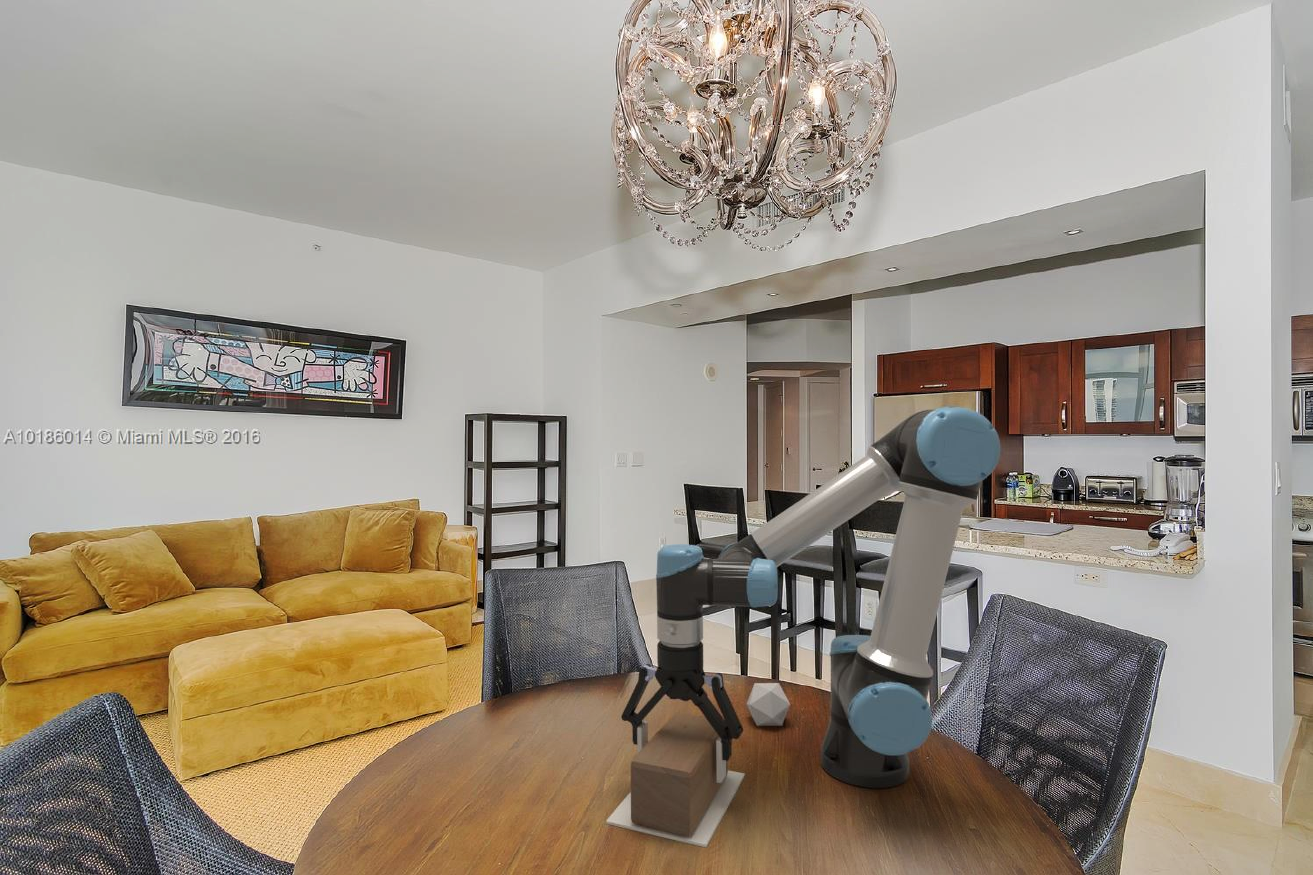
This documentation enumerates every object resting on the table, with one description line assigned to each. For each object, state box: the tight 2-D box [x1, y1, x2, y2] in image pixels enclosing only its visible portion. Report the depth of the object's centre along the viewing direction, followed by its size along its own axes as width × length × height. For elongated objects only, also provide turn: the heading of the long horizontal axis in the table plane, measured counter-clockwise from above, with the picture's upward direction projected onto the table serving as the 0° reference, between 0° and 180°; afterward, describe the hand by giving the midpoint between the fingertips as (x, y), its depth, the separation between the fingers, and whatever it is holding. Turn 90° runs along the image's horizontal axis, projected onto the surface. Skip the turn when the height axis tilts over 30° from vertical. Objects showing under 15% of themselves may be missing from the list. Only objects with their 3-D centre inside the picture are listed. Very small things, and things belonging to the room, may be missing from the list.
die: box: [746, 682, 791, 727], centre depth 138 cm, size 8×9×10 cm
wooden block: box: [630, 711, 729, 836], centre depth 108 cm, size 10×10×20 cm
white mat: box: [605, 769, 745, 848], centre depth 109 cm, size 16×22×1 cm
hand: (681, 771), depth 109 cm, fingers open, 13 cm apart
